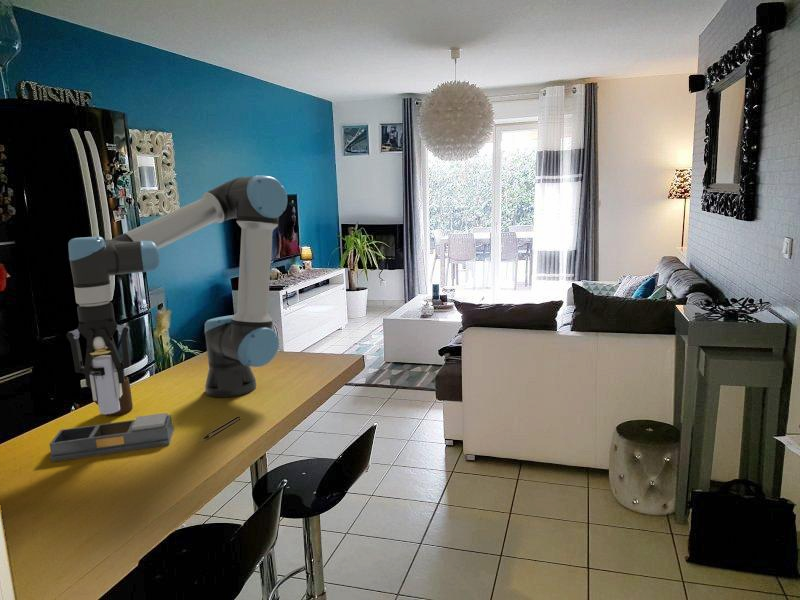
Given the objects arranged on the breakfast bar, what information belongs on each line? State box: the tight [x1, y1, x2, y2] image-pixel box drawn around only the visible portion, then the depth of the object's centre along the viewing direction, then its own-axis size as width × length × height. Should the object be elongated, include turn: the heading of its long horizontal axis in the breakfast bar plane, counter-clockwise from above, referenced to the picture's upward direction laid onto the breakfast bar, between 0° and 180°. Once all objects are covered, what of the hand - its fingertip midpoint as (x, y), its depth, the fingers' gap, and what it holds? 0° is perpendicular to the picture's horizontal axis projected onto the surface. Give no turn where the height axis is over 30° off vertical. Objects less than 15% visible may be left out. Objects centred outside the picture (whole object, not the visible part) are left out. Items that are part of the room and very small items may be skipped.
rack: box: [49, 412, 175, 463], centre depth 143 cm, size 26×10×5 cm, turn 105°
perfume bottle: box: [88, 337, 120, 415], centre depth 140 cm, size 6×6×20 cm
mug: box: [93, 375, 134, 417], centre depth 163 cm, size 12×8×9 cm, turn 167°
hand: (108, 397), depth 141 cm, fingers closed on perfume bottle, 4 cm apart
